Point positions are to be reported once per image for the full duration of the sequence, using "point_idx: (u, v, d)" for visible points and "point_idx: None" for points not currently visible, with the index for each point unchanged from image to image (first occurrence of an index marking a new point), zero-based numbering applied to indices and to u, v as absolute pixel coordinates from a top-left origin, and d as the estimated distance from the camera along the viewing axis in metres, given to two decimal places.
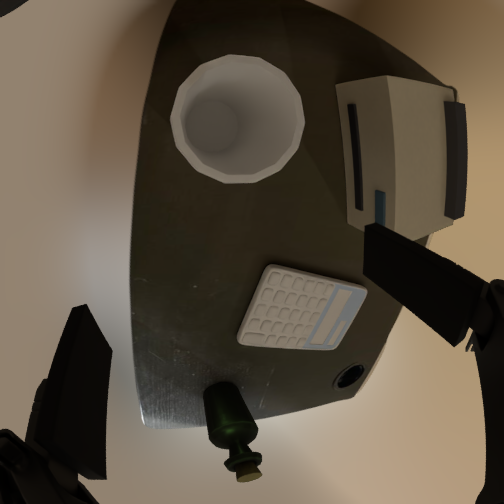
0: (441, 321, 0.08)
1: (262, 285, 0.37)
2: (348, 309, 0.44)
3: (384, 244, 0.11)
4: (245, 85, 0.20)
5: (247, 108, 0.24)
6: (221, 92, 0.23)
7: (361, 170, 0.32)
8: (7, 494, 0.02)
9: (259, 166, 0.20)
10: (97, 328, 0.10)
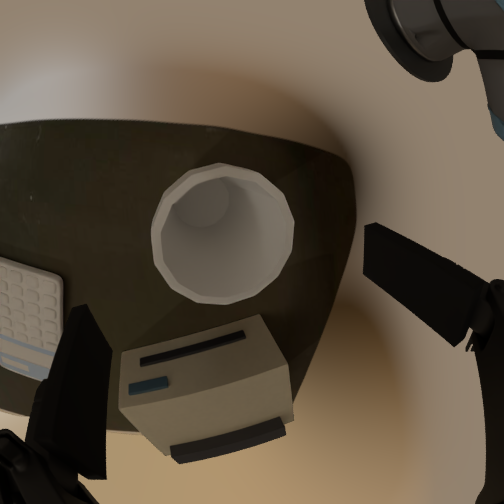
0: (441, 321, 0.08)
1: (40, 275, 0.24)
2: (40, 371, 0.29)
3: (384, 244, 0.11)
4: (254, 235, 0.23)
5: (225, 236, 0.26)
6: (241, 209, 0.26)
7: (180, 357, 0.31)
8: (7, 494, 0.02)
9: (171, 264, 0.18)
10: (97, 328, 0.10)
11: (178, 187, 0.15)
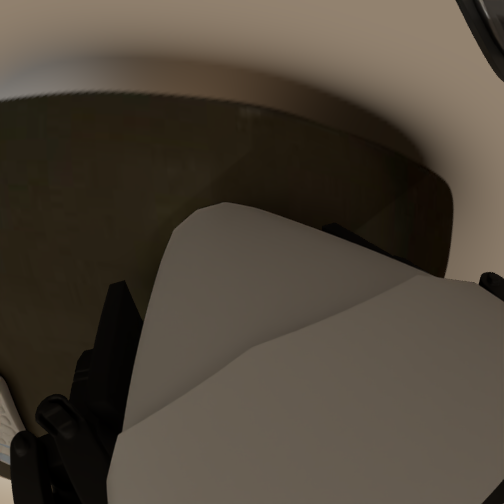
0: None
1: None
2: None
3: None
4: None
5: None
6: None
7: None
8: (44, 472, 0.03)
9: None
10: (133, 304, 0.11)
11: None
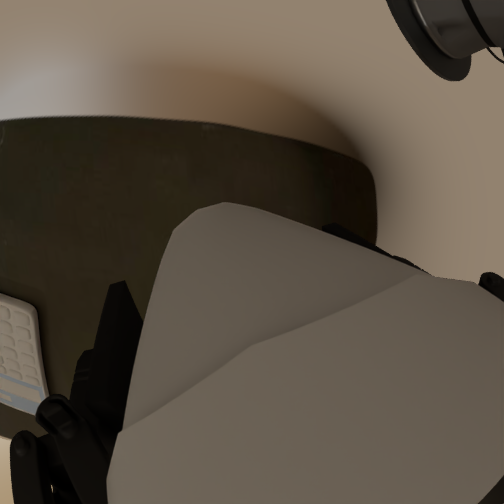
0: None
1: (10, 304, 0.18)
2: (23, 403, 0.22)
3: None
4: None
5: None
6: None
7: None
8: (44, 472, 0.03)
9: None
10: (133, 304, 0.11)
11: None
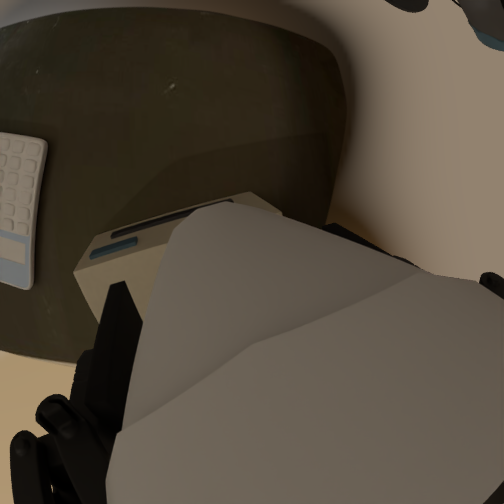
0: None
1: (27, 138, 0.21)
2: (7, 269, 0.25)
3: None
4: None
5: None
6: None
7: (157, 224, 0.28)
8: (44, 472, 0.03)
9: None
10: (133, 304, 0.11)
11: None
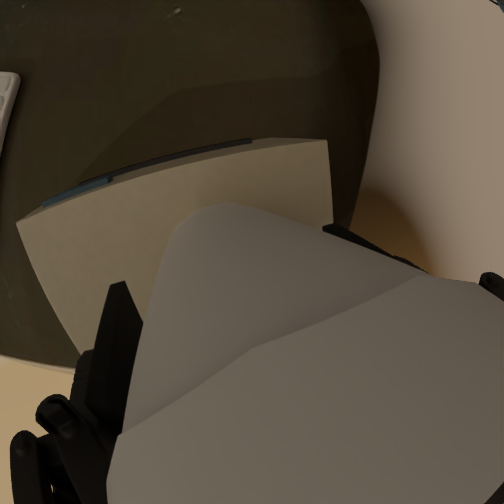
0: None
1: None
2: None
3: None
4: None
5: None
6: None
7: (143, 166, 0.19)
8: (44, 472, 0.03)
9: None
10: (133, 304, 0.11)
11: None
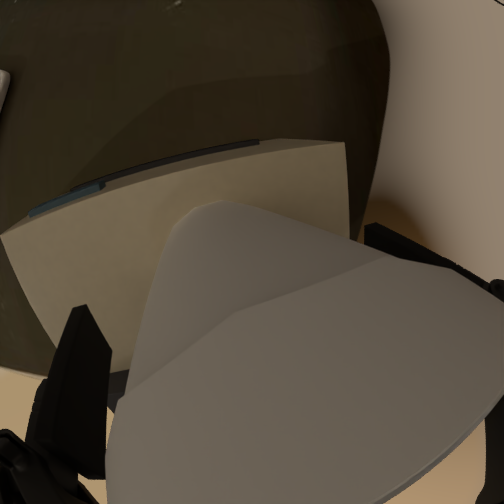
0: None
1: None
2: None
3: (384, 244, 0.11)
4: None
5: None
6: None
7: (140, 169, 0.17)
8: (7, 494, 0.02)
9: None
10: (97, 328, 0.10)
11: None
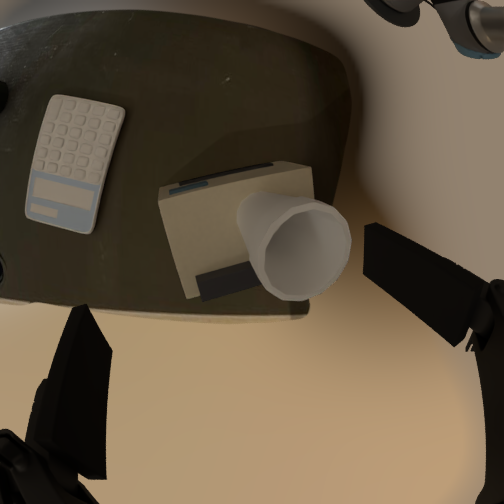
0: (441, 321, 0.08)
1: (108, 104, 0.31)
2: (70, 215, 0.35)
3: (384, 244, 0.11)
4: (314, 248, 0.29)
5: (285, 247, 0.33)
6: (299, 225, 0.32)
7: (217, 176, 0.38)
8: (7, 494, 0.02)
9: None
10: (97, 328, 0.10)
11: (281, 216, 0.22)
